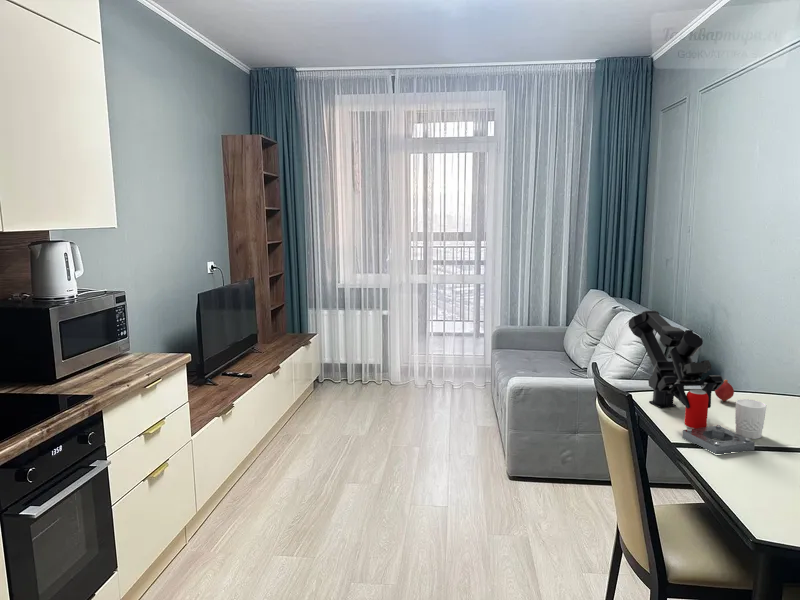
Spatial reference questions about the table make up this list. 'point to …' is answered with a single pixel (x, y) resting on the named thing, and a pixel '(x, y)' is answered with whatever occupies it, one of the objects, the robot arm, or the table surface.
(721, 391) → the onion
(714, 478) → the table surface
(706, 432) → the housing
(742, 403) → the white cup
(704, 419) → the beverage can
